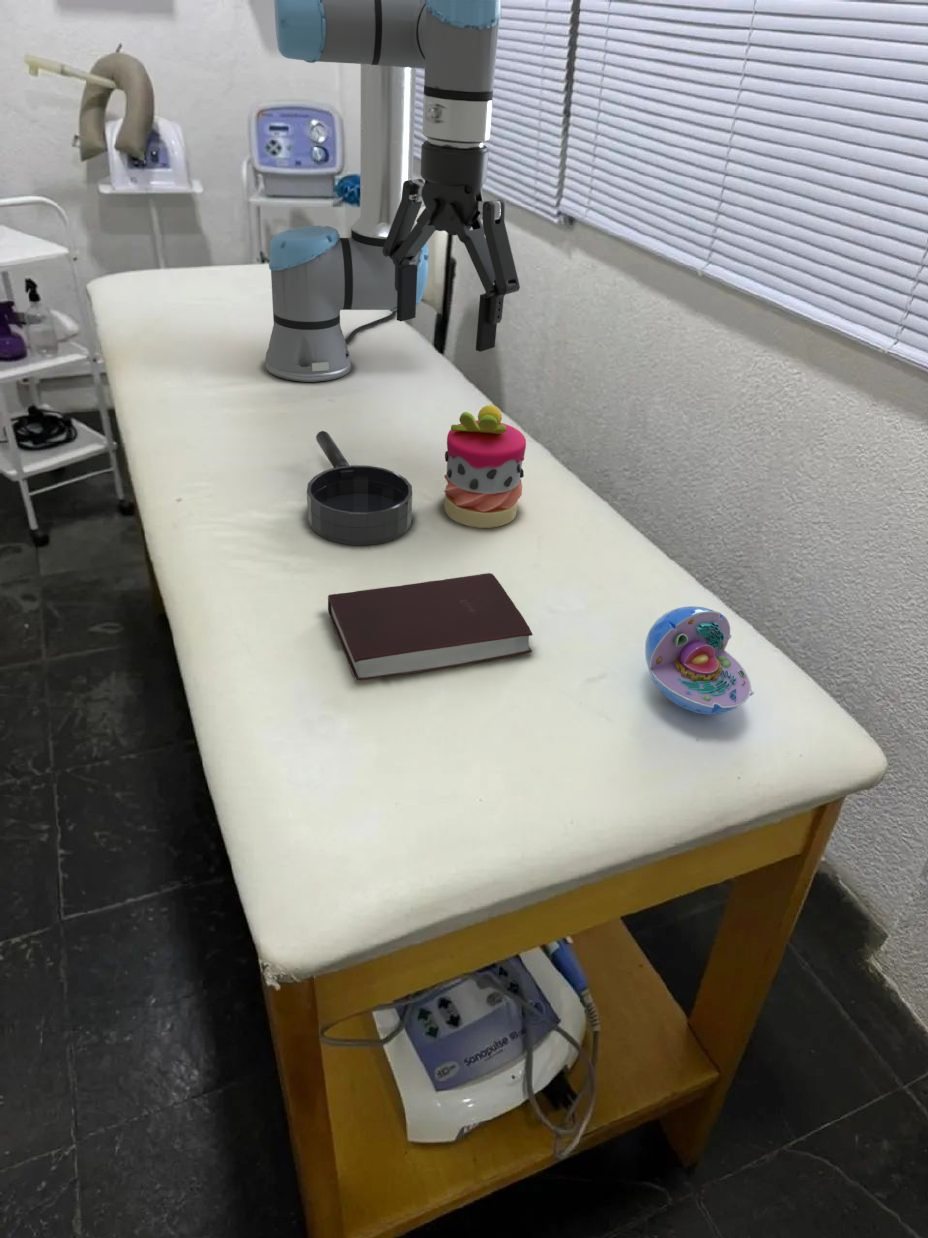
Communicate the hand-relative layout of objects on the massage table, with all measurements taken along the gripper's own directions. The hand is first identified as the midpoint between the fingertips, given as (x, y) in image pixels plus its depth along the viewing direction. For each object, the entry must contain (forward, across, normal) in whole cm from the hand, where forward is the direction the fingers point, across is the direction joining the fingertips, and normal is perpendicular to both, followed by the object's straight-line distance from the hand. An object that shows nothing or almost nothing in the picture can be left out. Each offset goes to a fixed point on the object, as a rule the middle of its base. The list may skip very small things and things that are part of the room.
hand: (444, 333), depth 107 cm
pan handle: (+20, -12, -8) cm, 24 cm away
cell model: (+21, +48, -13) cm, 55 cm away
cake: (+22, +8, 0) cm, 24 cm away
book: (+22, +23, -25) cm, 40 cm away
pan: (+22, -1, -14) cm, 26 cm away
